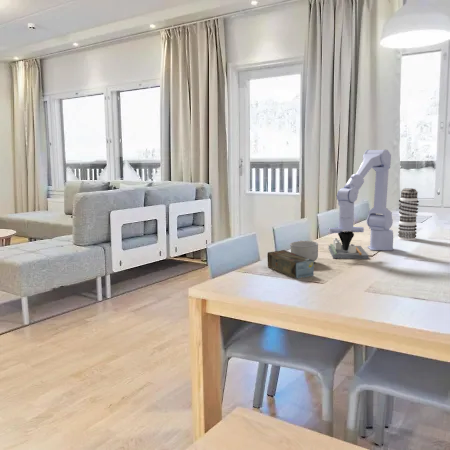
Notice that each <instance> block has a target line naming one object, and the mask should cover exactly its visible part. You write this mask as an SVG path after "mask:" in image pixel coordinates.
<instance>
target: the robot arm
mask: <svg viewBox="0 0 450 450" xmlns="http://www.w3.org/2000/svg"><path fill="white" fill-rule="evenodd" d="M391 161H392V154H391V153H390V151H389V150H388V149H366V150H365V151H364V153H363V155H362V162H361V164H360V165H359V168H358V170H357V171H356V173H353V174H351V175H350V178H348V180H347V182H346V183H345V184H344V187H342V188H339V190H337V194H336V199H337V204H338V207H339V213H338V215H339V216H338V217H339V218H338V227H329V228H328V230H327V231H328V234H338V235H337V236H338V237H339V240H340V242H341V245H342V246H343V250H348V248H349V244H351V241H352V239H353V238H354V237H355V233H364V231H365V228H364V227H362V226H354V222H355V221H354V219H355V217H354V216H355V215H354V214H355V213H354V212H355V202H356V201H357V200H358V196H359V190H360V189H361V188H362V187H363V185H364V183H365V179H364V178H365V177H366V175H368V173H369V172H370V170H372V169H373V170H374V171H375V182H374V197H373V207H372V208H371V209H370V210H368V215H367V218H366V225H367V226H368V228H369V229H370V241H369V242H370V244H369V245H368V246H367V248H368V249H369V250H370V251H394V232H393V230H392V229H391V228H392V227H393V224H394V223H393V222H394V220H393V213H392V211H391V210H389V208H387V201H388V200H387V198H388V185H389V170H390V169H391V163H392V162H391Z"/></svg>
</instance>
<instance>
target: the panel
mask: <svg viewBox="0 0 450 450" xmlns="http://www.w3.org/2000/svg"><path fill="white" fill-rule="evenodd" d="M327 248H328V250H329V253H330V255H331V257H332V259H341V260H342V259H343V260H345V259H348V260H349V259H350V260H369V254H368V253H367V251H365V249H364V248H363V247H362V246H361V245H356V253H349V248H348V250H343V246H342V244H341V250H335V247H333V243H330V245H328V247H327Z"/></svg>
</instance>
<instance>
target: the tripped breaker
mask: <svg viewBox="0 0 450 450" xmlns="http://www.w3.org/2000/svg"><path fill="white" fill-rule="evenodd" d="M356 246H357V245H356V244H355V243H350V244H349V253H356Z"/></svg>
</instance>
